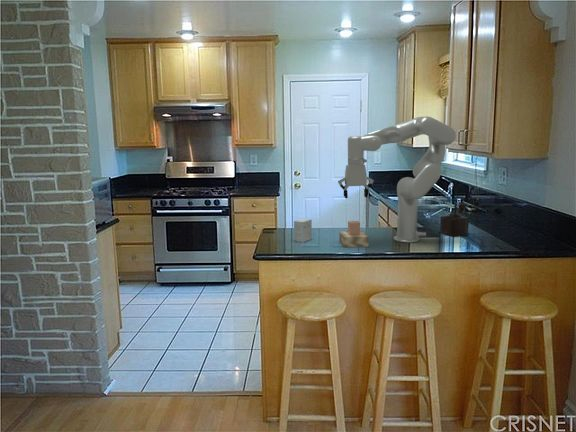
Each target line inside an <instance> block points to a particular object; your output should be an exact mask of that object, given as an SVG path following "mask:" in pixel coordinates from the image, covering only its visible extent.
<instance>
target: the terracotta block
mask: <svg viewBox="0 0 576 432" xmlns="http://www.w3.org/2000/svg"><path fill="white" fill-rule="evenodd" d="M347 231H348V234H349V235H360V231H361V222H360V221H359V220H347Z"/></svg>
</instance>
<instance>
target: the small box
mask: <svg viewBox="0 0 576 432" xmlns="http://www.w3.org/2000/svg"><path fill="white" fill-rule="evenodd" d="M312 225H313V223H312V219H311V218H310V219H309V218H305V217H302V218H299V219H295V220H293V232H294V233H293V237H294V238H293V239H294V241H295V242H299V243H304V242H308V241H310V240H312V237H313V236H312V235H313V234H312V233H313V230H312V229H313V228H312V227H313V226H312Z"/></svg>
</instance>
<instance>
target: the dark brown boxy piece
mask: <svg viewBox="0 0 576 432" xmlns="http://www.w3.org/2000/svg"><path fill="white" fill-rule="evenodd" d="M453 204H454V206H453V207H454V211H453V212H451V213H449V214H447V215H442V216H440V221H439V222H440V223H439V224H440V226H439V234H441V235H445V236H449V237H453V238H456V237H465V236H468V235H469V223H470V218H469V217H466V216H462V215H461V214H464V213H465V210H466V209H467V204H465V203H462V202H461V203H459V204H457V203H453ZM457 205H458V206H457ZM457 211H458V213H457ZM459 213H460V214H459Z"/></svg>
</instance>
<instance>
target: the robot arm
mask: <svg viewBox="0 0 576 432" xmlns="http://www.w3.org/2000/svg"><path fill="white" fill-rule="evenodd" d="M422 135H425V136H427V139H428V148H427V150H426V152H425V153H424V155H423V156H422V157H421V158H420V159H419V160H418V161H417V163H416V164H415V165H414V167H413V169H412V174H413V177H410V176H406V177H402V178H401V179H400V180H399V181H398V182H397V186H396V194H397V223H396V225H397V227H396V228H397V229H396V235H395V236H393V240H394V241H396V242H401V243H406V244H407V243H409V244H410V243H417V242H419V241H420V240H421V239H420V237H426V236H427V232H426V231H425V232H422V231H418V230H417V229H418V227H417V226H418V208H419V207H418V206H419V205H418V204H419V203H418V202H419V201H418V200H419V199H422V198H424V197H425V196H426V195H427V194H428V192H429V191H430V190H431V189H432V188H433V187H434V185H435V184H436V183H437V182H438V181H439V179H440V177H441V175H442V174H441V173H442V168H441V166H440V164H441V162H442V161H443V160H444V159H445V156H446V146H449V145H451V144H453V143H454V142H455V140H456V138H457V134H456V131H455V129H454V128H453V127H451V126H450V125H448V124H446V123H444V122H442V121H440V120H438V119H437V118H434V117H431V116H426V115H425V116H418V117H414V118H411V119H408V120H405V121H403V122H400V123H397V124H395V125H394V124H393V125H391V126H387V127H385V128H382V129H379V130H375V131H372V132H369V133H366V134H364V135H362V136H361V135H353V136H352V135H351V136H349V137H348V138H347V164H346V165H345V171H344V177H342V178H340V180H338V181H337V183H338V185H339V186H340V188H341V189H342V190H343V197H344V198H345V199H349V198H348V194H349V193H348V188H349V187H361V186H362V187H364V189H363V190H364V191H363V197H364V198H368V196H369V189H370V188H371V187H372V186H373V183H374V182H375V180H374V179H372V178H370V177H368V176H367V169H366V168H367V167H366V164H365V163H367V162H368V160H367V159H365V157H364V156H365V153H364V152H365V151H366V152H376V151H378V150H379V149H380V148H381V146H382V145H387V144H397V143H402V142H404V141H407V140H409V139H412V138H414V137H418V136H422ZM368 182H369V183H368ZM343 183H344V184H343Z"/></svg>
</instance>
